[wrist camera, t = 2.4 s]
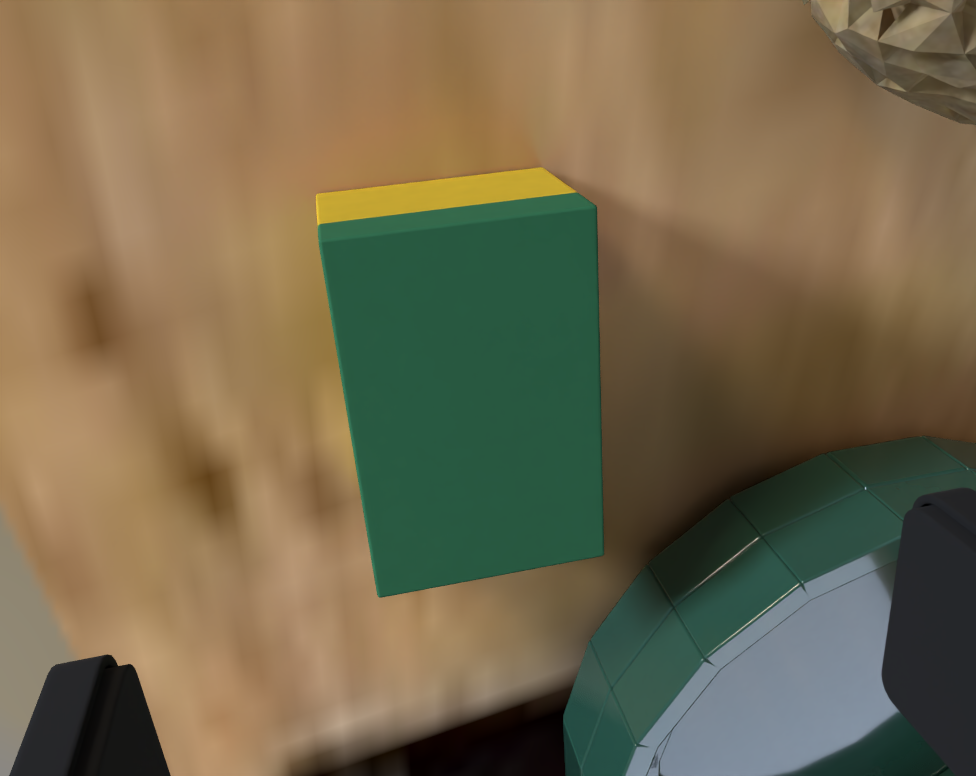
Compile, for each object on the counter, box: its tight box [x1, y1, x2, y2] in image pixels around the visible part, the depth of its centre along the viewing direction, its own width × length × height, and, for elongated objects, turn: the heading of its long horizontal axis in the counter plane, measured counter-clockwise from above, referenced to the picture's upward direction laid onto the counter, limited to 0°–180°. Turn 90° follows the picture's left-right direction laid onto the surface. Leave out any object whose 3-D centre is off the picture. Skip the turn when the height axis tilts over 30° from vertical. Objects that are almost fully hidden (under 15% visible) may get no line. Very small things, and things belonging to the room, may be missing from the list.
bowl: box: [563, 436, 976, 776], centre depth 23 cm, size 16×16×4 cm
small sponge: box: [316, 167, 604, 597], centre depth 16 cm, size 7×4×4 cm, turn 5°
